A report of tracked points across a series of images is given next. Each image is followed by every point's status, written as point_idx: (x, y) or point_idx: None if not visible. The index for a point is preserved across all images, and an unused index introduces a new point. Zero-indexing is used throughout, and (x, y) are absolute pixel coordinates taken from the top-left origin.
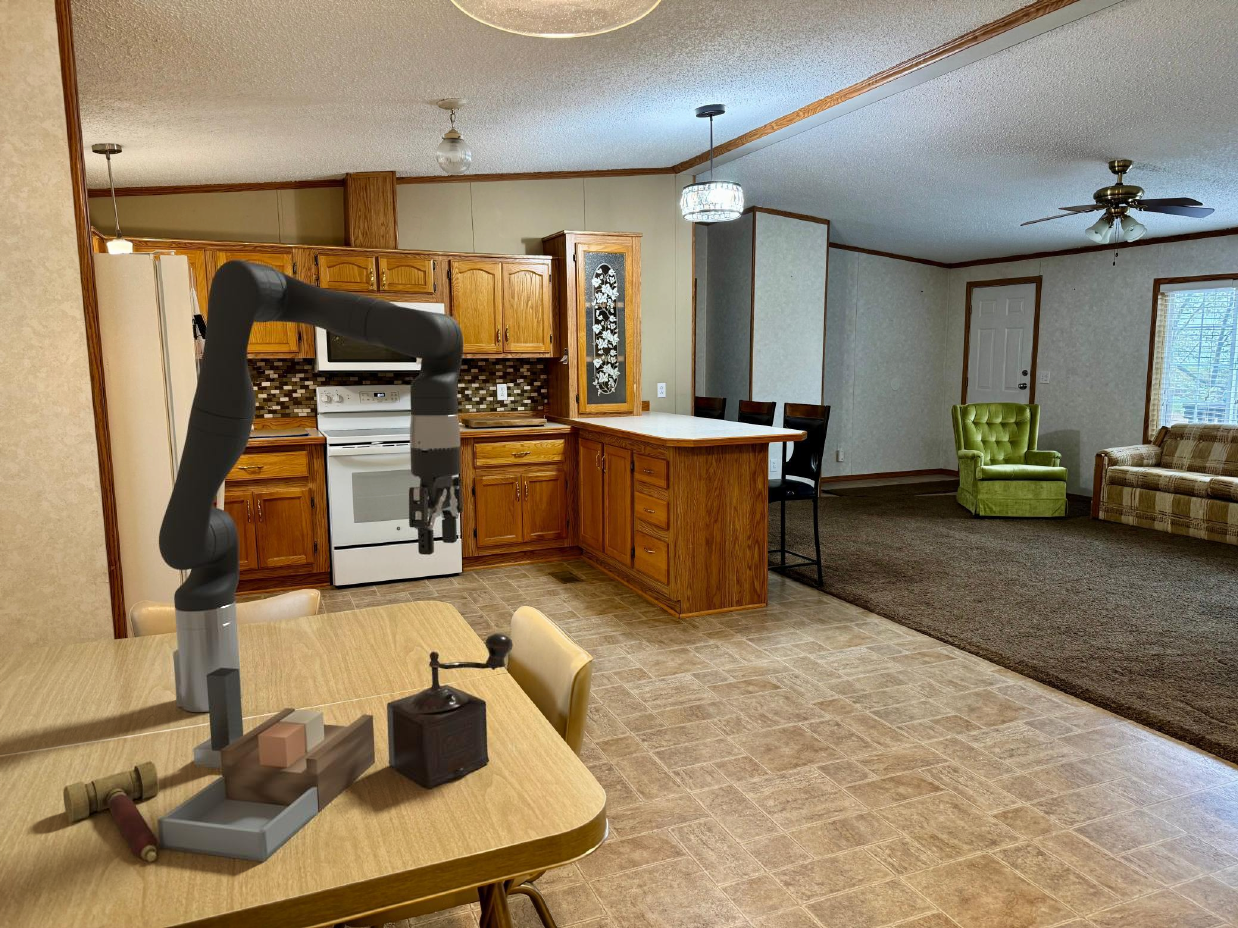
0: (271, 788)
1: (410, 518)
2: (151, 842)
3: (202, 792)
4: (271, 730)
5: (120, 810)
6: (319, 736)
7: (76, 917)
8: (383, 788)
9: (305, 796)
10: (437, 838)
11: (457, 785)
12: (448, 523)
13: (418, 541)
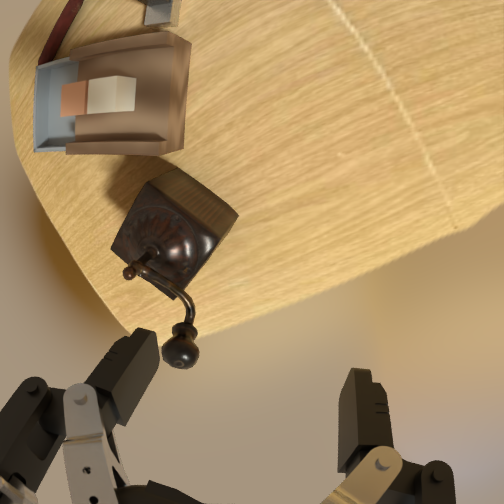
0: None
1: (12, 402)
2: None
3: (64, 61)
4: (70, 89)
5: (59, 17)
6: (122, 111)
7: (9, 86)
8: (138, 182)
9: None
10: (92, 252)
11: None
12: (346, 447)
13: (118, 353)
